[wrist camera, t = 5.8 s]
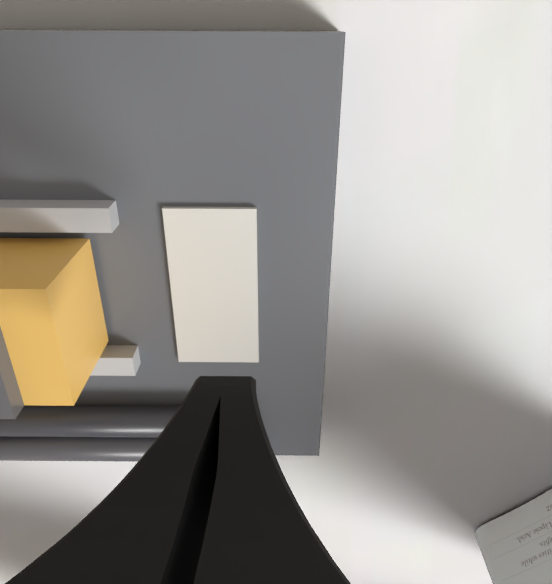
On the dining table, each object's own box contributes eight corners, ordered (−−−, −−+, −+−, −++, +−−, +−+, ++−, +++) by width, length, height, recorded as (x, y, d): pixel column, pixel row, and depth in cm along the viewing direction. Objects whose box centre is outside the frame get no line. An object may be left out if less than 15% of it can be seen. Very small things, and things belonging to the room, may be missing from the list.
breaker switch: (89, 238, 16) (35, 300, 13) (108, 340, 18) (66, 419, 15) (-33, 238, 16) (-122, 299, 13) (-2, 340, 18) (-71, 418, 15)
